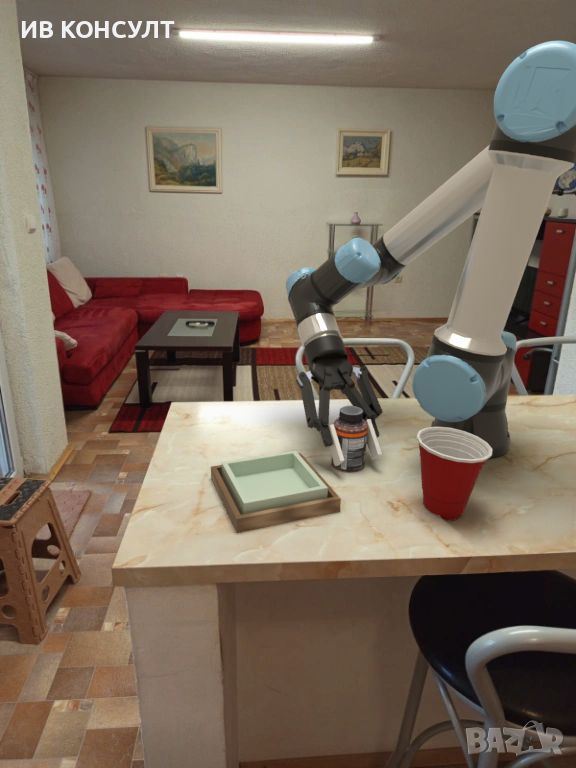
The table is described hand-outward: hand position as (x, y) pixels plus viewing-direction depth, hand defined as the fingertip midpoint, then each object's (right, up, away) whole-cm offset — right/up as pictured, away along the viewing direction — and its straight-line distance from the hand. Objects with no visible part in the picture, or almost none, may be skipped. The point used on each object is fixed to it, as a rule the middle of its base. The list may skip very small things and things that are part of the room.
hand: (358, 459), depth 87 cm
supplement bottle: (-1, -2, +4) cm, 5 cm away
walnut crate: (-15, -5, -6) cm, 16 cm away
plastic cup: (+12, -7, -8) cm, 16 cm away
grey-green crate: (-15, -5, -6) cm, 16 cm away
